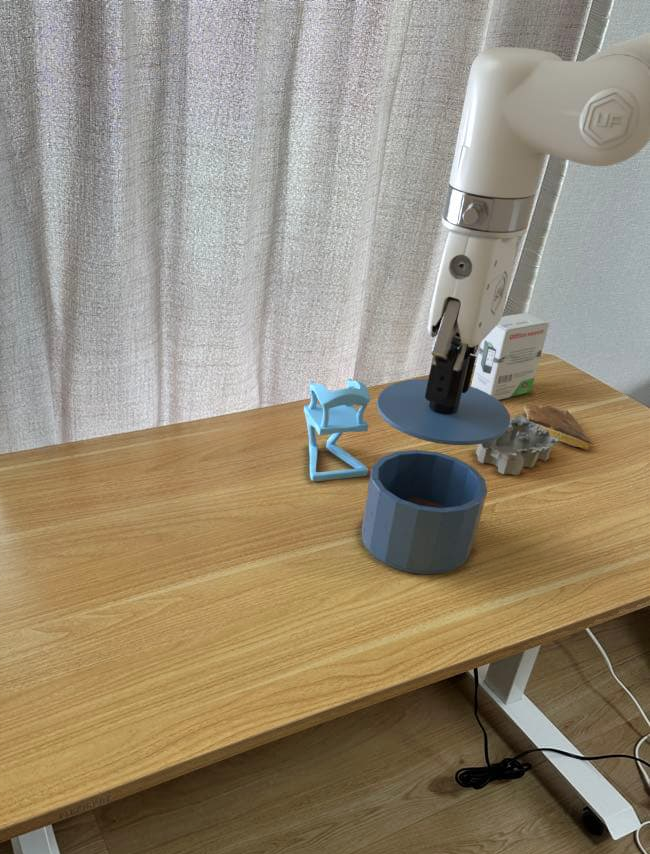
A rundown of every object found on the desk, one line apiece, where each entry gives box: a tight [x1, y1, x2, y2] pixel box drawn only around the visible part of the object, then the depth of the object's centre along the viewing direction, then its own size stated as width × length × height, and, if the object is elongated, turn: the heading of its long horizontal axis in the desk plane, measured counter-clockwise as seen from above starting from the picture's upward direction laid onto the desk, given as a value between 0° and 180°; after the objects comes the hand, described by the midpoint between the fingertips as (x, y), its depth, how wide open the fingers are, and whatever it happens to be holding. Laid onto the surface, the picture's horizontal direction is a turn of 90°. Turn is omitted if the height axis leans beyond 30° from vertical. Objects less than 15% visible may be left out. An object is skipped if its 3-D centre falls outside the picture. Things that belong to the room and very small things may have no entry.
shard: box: [523, 404, 594, 451], centre depth 116 cm, size 11×8×2 cm
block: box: [408, 496, 445, 508], centre depth 93 cm, size 4×4×4 cm
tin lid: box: [376, 348, 511, 446], centre depth 83 cm, size 14×14×7 cm
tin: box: [361, 449, 488, 575], centre depth 92 cm, size 13×13×8 cm
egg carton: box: [475, 414, 559, 476], centre depth 110 cm, size 11×8×4 cm
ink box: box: [470, 311, 550, 401], centre depth 123 cm, size 9×5×12 cm, turn 116°
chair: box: [303, 378, 371, 482], centre depth 104 cm, size 8×8×12 cm
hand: (446, 394), depth 83 cm, fingers closed on tin lid, 3 cm apart
